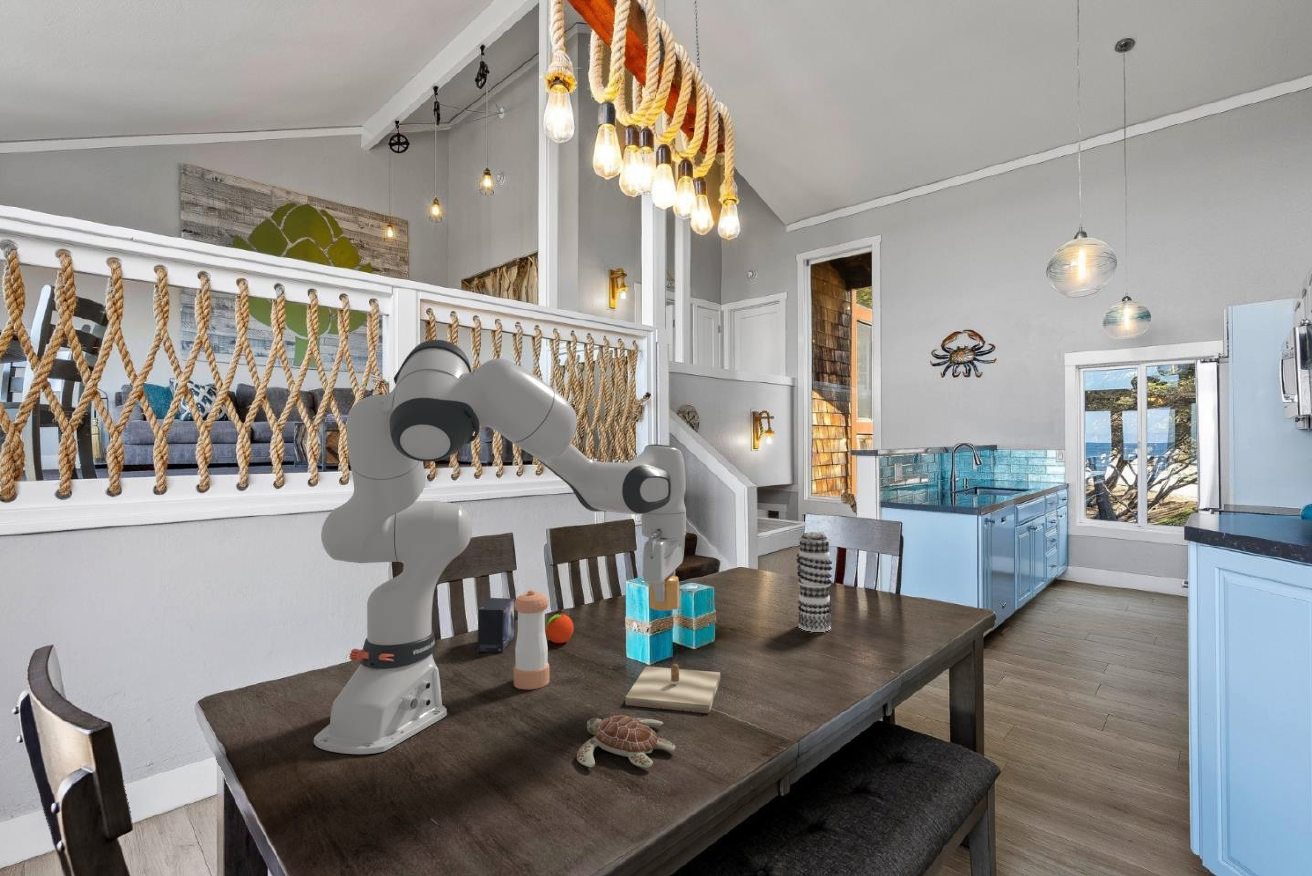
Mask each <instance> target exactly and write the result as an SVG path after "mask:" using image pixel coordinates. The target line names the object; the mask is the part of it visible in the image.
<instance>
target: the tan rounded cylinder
mask: <svg viewBox="0 0 1312 876" xmlns="http://www.w3.org/2000/svg"><path fill="white" fill-rule="evenodd" d="M664 588H665V591H666V595H665V596H666V598H665V599H664V601H656V600H655V591H654V588H653V583H648V589H649V590H648V592H649V599H648V600H649V602H648V603H649V604H648V605H649V606H648V607H649V608H650V609H653V610H655V611H667V612H669V611H673V610H677V609H679V607H680V606H681V605H680V604H681V601H680V599H681V595H680V594H681V593H680V591H681V590H680V581H679V577H678V576H677V575H675V576H672V575H669V576H668V577H667V578H666V579H665V583H664Z"/></svg>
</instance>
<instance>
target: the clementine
mask: <svg viewBox="0 0 1312 876" xmlns="http://www.w3.org/2000/svg"><path fill="white" fill-rule="evenodd" d="M574 626H575V625H574V623H573V621H572V618H570V617H569V616H567V615H566V614H563V613H556V614H554V615H553V616H551V617H550V618H549V619H548V620H547V622H546V623H545V634H546V636H547V637H546V638H548V639H549V640H550V641H551V642H552V643H555V644H564V643H566V642H567V641H568V640H570V639H571V637H572V636H573V633H574V629H575V628H574Z"/></svg>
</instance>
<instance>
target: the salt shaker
mask: <svg viewBox="0 0 1312 876" xmlns="http://www.w3.org/2000/svg"><path fill="white" fill-rule="evenodd" d="M548 606H549V599H548V598H547V596H546V595H545V594H542V593H539V592H536V591H535V590H534V589H529V590H527V592H526V593H522V594H520V595H518V596H517V597H516V599H514V611H516V612H517V636H516V641H515V649H514V651H515V652H514V653H515V654H514V655H515V664H514V666H513V686H514V687H515V688H517V689H519V690H536V689H540V688H541V689H542V688H543V687H546V686H547V685H548V684H549V683H550V664H549V662H548V651H549V649H548V641H547V637H546V636H547V634H546V622H545V620H546V617H545V616H546V614H545V610H547V608H548Z"/></svg>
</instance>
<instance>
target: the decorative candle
mask: <svg viewBox="0 0 1312 876" xmlns="http://www.w3.org/2000/svg"><path fill="white" fill-rule="evenodd" d="M798 541H799V549H798V553H797V554H796V557H797V558H796V563H797V564H798V565H797V566H796V568H797V572H796V574H797V576H798V579H797V583H798V585H799V593H798V594H799V595H798V596H799V598H798V600H797V604H798V605H799V606H797V608H798V609H797V610H798V611H799V612H798V613H797V616H798V619H797V621H798V624H797V625H798V626H799V627H798V629H799V628H801V629H803V630H806V631H811V632H810V633H812V632H824V633H826V632H825V631H828V630H830V629H831V630H832V628H831V625H832V622H831V619H832V615H831V613H830V612H832V608H831V606H832V603H831V602H830V601H831V596H830V586H831V585H832V580H830V579H831V578H832V574H830V572H829V571H832V570H833V567H832V566H831V565H832V564H833V561H832V560H831V559H829V558H830V556H831V553H830V544H829V543H830V541H831V540H830V538H828V537H827V535H826V534H825V533H823V532H812V531H811V532H804V533H803V534H802V535H801V537H800V538H798ZM801 629H800V630H801ZM803 630H802V631H803ZM831 630H830V631H831ZM806 631H805V632H806ZM828 632H829V631H828Z"/></svg>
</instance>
